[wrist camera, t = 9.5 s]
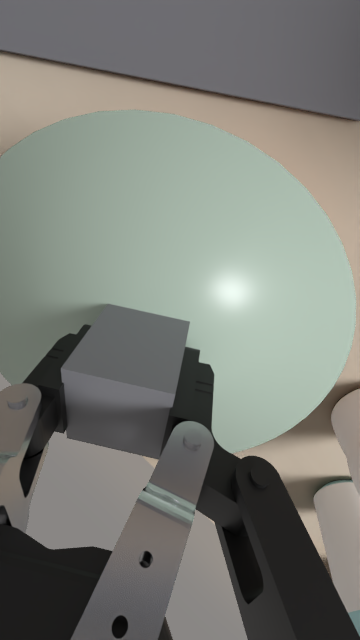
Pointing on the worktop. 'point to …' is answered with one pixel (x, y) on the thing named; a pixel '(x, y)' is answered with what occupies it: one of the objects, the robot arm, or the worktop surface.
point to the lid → (169, 277)
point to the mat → (204, 45)
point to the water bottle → (349, 431)
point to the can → (342, 540)
